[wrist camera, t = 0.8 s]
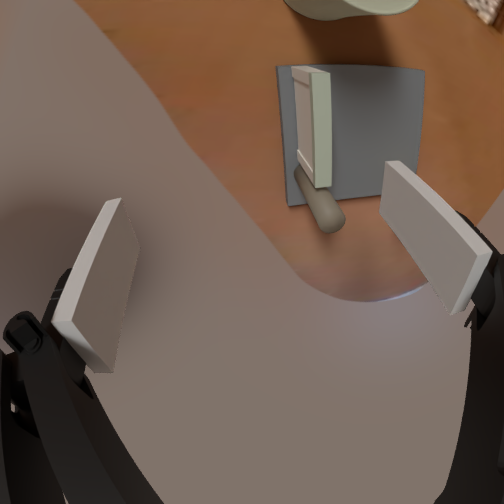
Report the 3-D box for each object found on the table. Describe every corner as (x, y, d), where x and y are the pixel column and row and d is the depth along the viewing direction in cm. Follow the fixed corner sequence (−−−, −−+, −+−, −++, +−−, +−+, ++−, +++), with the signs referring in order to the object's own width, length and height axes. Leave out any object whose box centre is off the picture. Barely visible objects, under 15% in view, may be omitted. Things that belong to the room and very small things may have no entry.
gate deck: (419, 69, 27) (483, 91, 18) (408, 187, 37) (454, 235, 28) (275, 66, 26) (304, 78, 18) (286, 201, 36) (309, 261, 28)
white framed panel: (311, 157, 32) (331, 186, 26) (297, 159, 32) (315, 188, 26) (306, 65, 25) (329, 73, 20) (291, 66, 25) (311, 73, 20)
